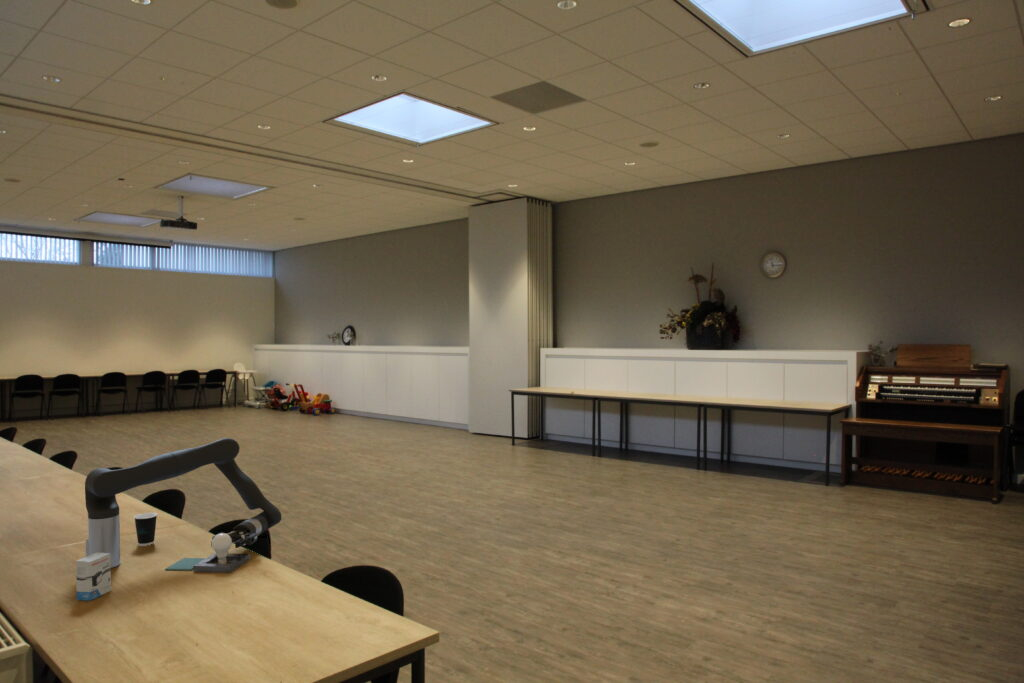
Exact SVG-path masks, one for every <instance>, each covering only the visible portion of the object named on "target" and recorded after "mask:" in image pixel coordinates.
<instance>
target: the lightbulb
mask: <svg viewBox="0 0 1024 683" xmlns="http://www.w3.org/2000/svg"><path fill="white" fill-rule="evenodd" d="M219 533H220V534H219ZM219 533H217V534H218V535H217V534H215V535H216V536H215V535H214V536H215V537H214V538H213V540H212V541H211V542H212V546H211V548H212V549H213V551H214V553H216V554H217V557H218V562H217V564H227V562H226V556H227V554H229V550H230V549H231V547H232V545H233V543H232V539H231V537H230V536H229V535H228V534H227V533H225V532H224V533H221V532H219Z"/></svg>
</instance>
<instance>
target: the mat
mask: <svg viewBox="0 0 1024 683" xmlns="http://www.w3.org/2000/svg"><path fill="white" fill-rule="evenodd" d="M206 558H207V557H206ZM206 558H205V557H204V558H203V557H202V558H201V557H198V558H197V557H184V558H181V559H180V560H178V561H175V563H173V564H171V565H169V566H168V567H166V568H165V571H180V572H181V571H183V572H184V571H187V572H188V571H189V572H191V571H193V566H194V565H196V564H197V563H199V562H201V561H202V560H204V559H206Z"/></svg>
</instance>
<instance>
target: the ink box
mask: <svg viewBox="0 0 1024 683" xmlns="http://www.w3.org/2000/svg"><path fill="white" fill-rule="evenodd" d="M75 563H76V564H75V566H76V568H75V572H76V575H75V576H76V601H89V602H90V601H93V600H95V599H97V598H98V597H100V596H101V597H102V595H105V594H107V593H109V592H112V585H111V584H112V582H111V580H112V579H111V577H112V575H111V574H112V573H111V572H112V570H111V569H112V568H111V562H110V553H94V554H92V555H89V556H87V557H86V556H84V557H82V558H79V559H77V560H76V561H75Z"/></svg>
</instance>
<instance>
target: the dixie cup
mask: <svg viewBox="0 0 1024 683" xmlns="http://www.w3.org/2000/svg"><path fill="white" fill-rule="evenodd" d="M157 518H158V513H157V512H144V513H139V514H136V515H134V516H133V519H134V524H135V530H136V538H137V543H138V546H139V545H140V546H139V547H148V546H147V545H149V546H152V545H154V541H155V538H156V537H155V536H156V527H157V526H156V525H157ZM151 544H152V545H151Z"/></svg>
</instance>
